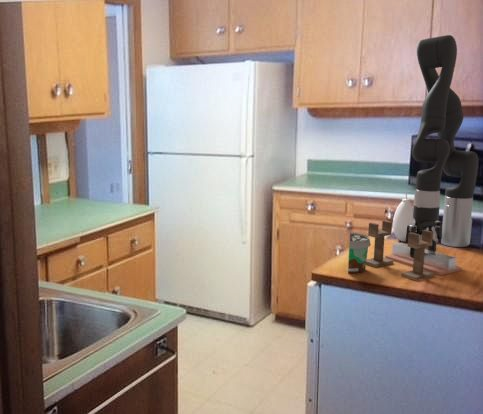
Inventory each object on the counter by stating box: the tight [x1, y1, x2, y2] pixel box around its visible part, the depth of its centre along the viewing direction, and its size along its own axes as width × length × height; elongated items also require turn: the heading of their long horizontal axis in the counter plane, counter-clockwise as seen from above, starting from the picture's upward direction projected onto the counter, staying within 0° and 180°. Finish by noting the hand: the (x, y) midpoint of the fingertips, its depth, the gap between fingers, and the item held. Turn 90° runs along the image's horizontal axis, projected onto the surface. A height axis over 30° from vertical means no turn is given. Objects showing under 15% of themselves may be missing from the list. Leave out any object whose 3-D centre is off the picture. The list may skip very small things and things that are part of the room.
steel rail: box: [391, 242, 457, 271], centre depth 168 cm, size 4×21×4 cm, turn 34°
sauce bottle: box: [392, 191, 415, 242], centre depth 196 cm, size 8×8×18 cm
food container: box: [347, 232, 371, 275], centre depth 161 cm, size 12×6×10 cm, turn 168°
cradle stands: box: [366, 220, 435, 282], centre depth 161 cm, size 8×20×13 cm, turn 34°
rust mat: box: [384, 254, 463, 276], centre depth 169 cm, size 10×21×1 cm, turn 34°
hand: (422, 255), depth 168 cm, fingers open, 8 cm apart
